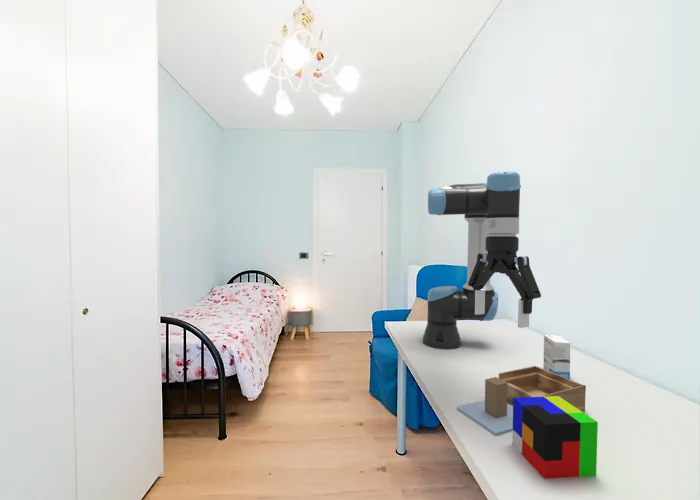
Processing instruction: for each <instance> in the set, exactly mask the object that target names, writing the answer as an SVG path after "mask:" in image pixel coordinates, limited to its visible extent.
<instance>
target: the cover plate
mask: <svg viewBox="0 0 700 500" xmlns="http://www.w3.org/2000/svg"><path fill="white" fill-rule="evenodd" d="M484 381H485V382H484V386H485V387H484V400H483V399H482V400H479V401H475V402H471V403H467V404H462V405H459V406H456V410H457V411H458V412H460V413H462V414H463V415H464V416H466V417H467V418H469V419H471V420H472V421H473V422H475V423H476V424H478V425H479V426H480V427H482V428H483V429H484V430H486V431H487V432H489V433H490V434H492V435H493V436H495V437H497V436H500V435H504V434H507V433H509V432H510V433H511V432H513V405H512V404H511V405H510V403H508V402H507V386H508V383H507V382H505V381H503V380H501V379H499V377H497V376H494V377H490V378H486V379H485V380H484Z"/></svg>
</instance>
